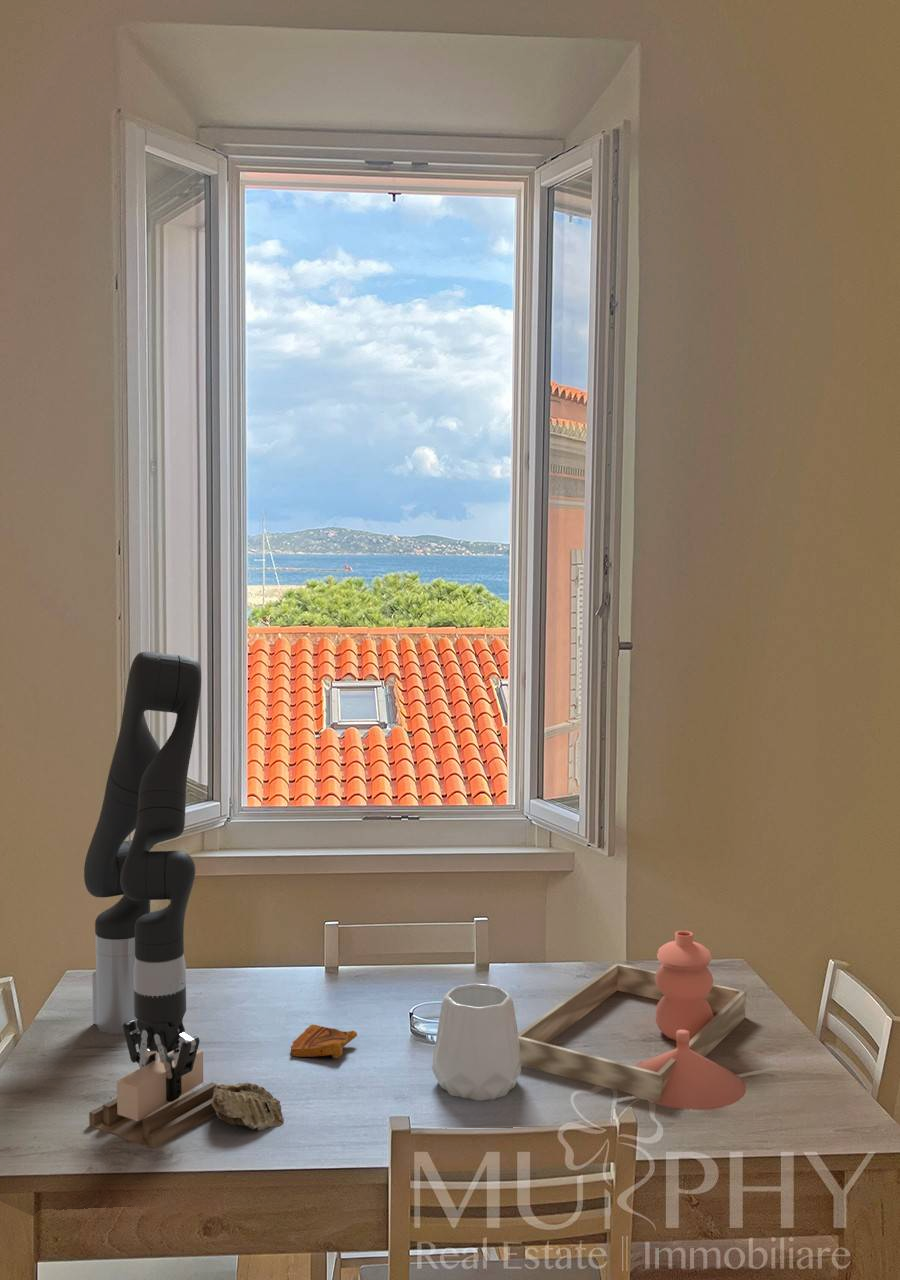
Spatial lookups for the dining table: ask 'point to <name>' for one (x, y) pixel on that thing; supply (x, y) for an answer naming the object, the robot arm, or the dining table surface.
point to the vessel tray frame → (612, 1072)
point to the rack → (157, 1118)
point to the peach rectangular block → (152, 1088)
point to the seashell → (247, 1106)
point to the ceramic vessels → (689, 1029)
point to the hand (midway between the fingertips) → (161, 1094)
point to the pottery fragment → (321, 1042)
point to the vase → (477, 1043)
